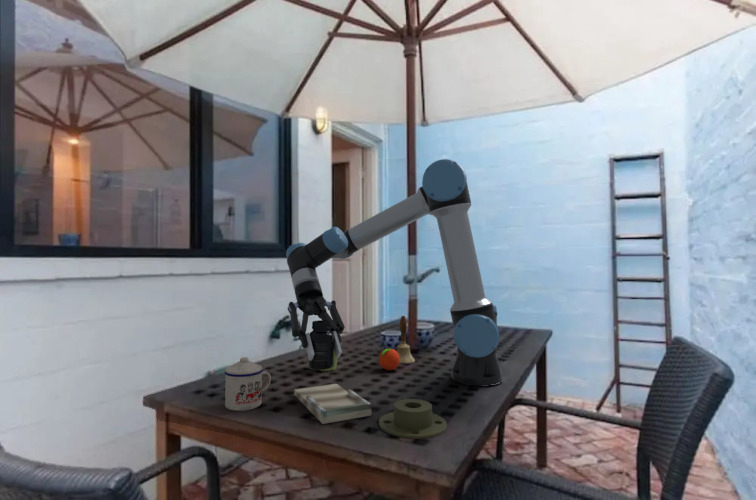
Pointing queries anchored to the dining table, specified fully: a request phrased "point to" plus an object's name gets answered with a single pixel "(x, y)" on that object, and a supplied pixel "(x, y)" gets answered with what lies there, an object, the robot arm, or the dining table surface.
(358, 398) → the rail board
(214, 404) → the dining table surface
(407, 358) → the hand bell
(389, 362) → the clementine
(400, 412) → the flange
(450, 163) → the robot arm
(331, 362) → the supplement bottle
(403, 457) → the dining table surface
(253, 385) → the teacup with lid
